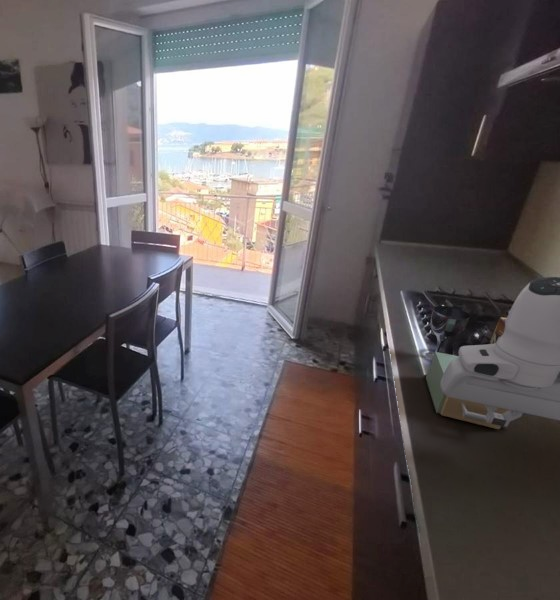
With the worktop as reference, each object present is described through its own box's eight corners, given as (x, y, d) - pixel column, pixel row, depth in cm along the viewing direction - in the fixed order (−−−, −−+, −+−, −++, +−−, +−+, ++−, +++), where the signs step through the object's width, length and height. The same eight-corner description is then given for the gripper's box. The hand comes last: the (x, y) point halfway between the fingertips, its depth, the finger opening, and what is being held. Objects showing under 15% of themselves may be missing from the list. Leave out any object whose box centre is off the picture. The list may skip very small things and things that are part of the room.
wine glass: (455, 368, 99) (475, 320, 92) (422, 362, 101) (438, 316, 95) (446, 353, 105) (463, 308, 99) (415, 348, 108) (430, 304, 102)
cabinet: (499, 429, 78) (515, 399, 75) (435, 414, 83) (447, 384, 79) (479, 390, 90) (492, 362, 87) (425, 378, 95) (435, 351, 91)
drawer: (506, 443, 74) (519, 418, 71) (445, 427, 78) (455, 403, 75) (480, 392, 88) (491, 370, 85) (430, 381, 92) (438, 359, 90)
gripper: (593, 368, 62) (559, 427, 68) (450, 344, 71) (430, 399, 77) (615, 389, 57) (576, 452, 63) (458, 361, 66) (436, 418, 71)
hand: (495, 422), depth 70 cm, fingers closed
